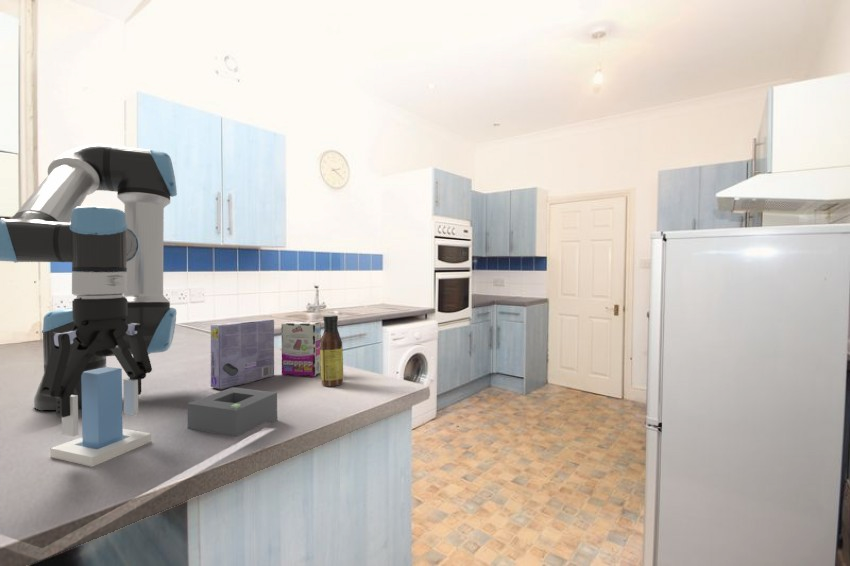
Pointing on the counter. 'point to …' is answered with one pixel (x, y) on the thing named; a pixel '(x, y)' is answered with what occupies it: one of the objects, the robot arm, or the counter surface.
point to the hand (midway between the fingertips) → (102, 423)
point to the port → (232, 411)
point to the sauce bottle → (331, 353)
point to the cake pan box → (241, 353)
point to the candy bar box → (301, 348)
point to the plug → (101, 407)
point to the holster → (92, 457)
